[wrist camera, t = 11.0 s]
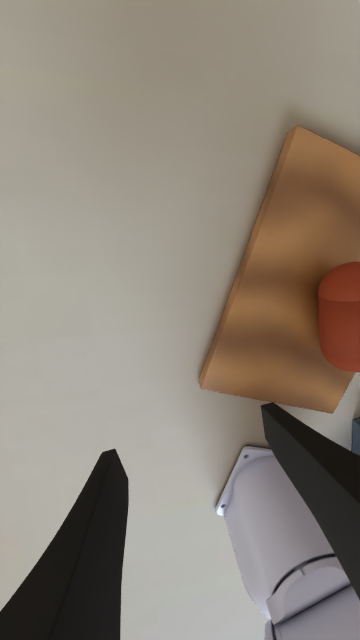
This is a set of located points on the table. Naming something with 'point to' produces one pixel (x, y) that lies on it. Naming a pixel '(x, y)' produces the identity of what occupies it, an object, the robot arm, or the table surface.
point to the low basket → (356, 436)
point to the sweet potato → (340, 316)
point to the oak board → (290, 280)
